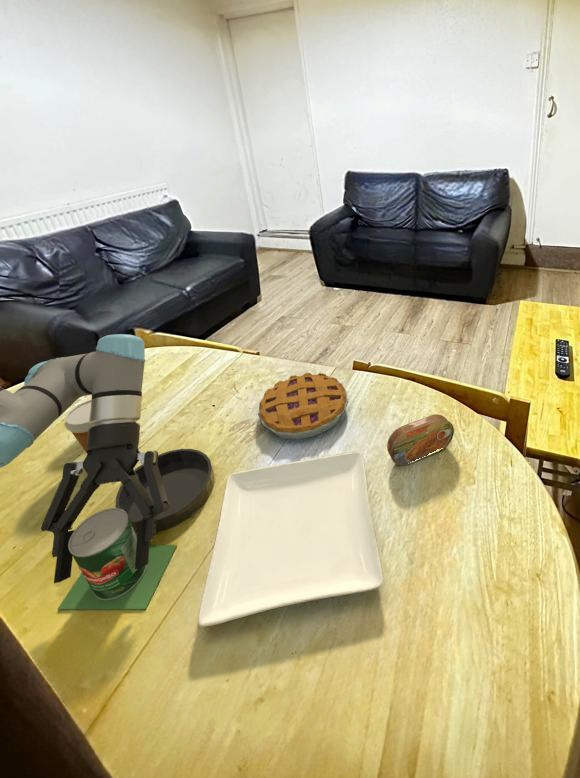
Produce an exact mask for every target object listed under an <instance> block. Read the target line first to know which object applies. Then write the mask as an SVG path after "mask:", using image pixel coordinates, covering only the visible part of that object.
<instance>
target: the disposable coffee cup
mask: <svg viewBox="0 0 580 778" xmlns="http://www.w3.org/2000/svg"><path fill="white" fill-rule="evenodd" d="M91 401H92V398H91V399H88V400H85V401H83V402H81V403H78V404H77V405H76V406H74V407H73V408H72V409H70V410H69V411H68V412H67V413H66V416H65V421H64V427H65V429H66V430H67V431H69V432H70V433H71V434H72V435H73V437H74V438H75V439H76V440H77V442H78V443H79V445H80V446H81V448H82V449H83V451H84V452H85V453H86V454H87V449H86V446H87V437H88V430H89V429H90V428H91V427H93V425H91V424H90V423H89V418H90V409H91Z"/></svg>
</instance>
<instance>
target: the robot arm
mask: <svg viewBox="0 0 580 778" xmlns="http://www.w3.org/2000/svg"><path fill="white" fill-rule="evenodd" d="M145 344H146V343H145V341H144V340H143V338H141V337H139V336H137V335H133V334H126V333H125V334H123V333H118V334H108V335H105V336H102V337H100V338H99V339H98V341H97V345H96V347H95V350H96V351H92V352H89V353H83V354H77V355H70V356H62V357H56V358H51V359H48V360H46V361H42V362H39V363H37V364H34V366H32V367H31V368H30V369H29V370H28V373H27V375H26V377H25V378H24V383H23V386H21V387H20V388H18V389H17V390H16V391H14V392H12V391H9V390H7V389H5V388H3V387H2V386H0V469H2V468H4V467H6V466H8V465H10V463H11V462H13V461H14V460H15V459H16V458H18V457H19V456H20V455H21V454H22V453H23V452H24V451H26V450H27V449H28V448H30V447H31V446H32V445H33V444H34V442H35V441H36V440H37V439H38V438H39V437H40V436H41V435H42V434H43V433H44V432H45V431H46V430H47V429H48V428H49V427H50V426H51V425H52V424H53V423H54V422H55V421H56V420H58V419H59V418H60V417H61V416H62V415H63V414H64V413H65V412H66V411H67V410H69V408H71V407H72V406H73V404H75V403H76V402H77V401H78V399H80V398H82V397H87V396H91V399H92V401H91V409H90V418H89V423H90V424H91V425H93V427H91V428H90V429H89V430H88V437H87V446H86V449H87V453H86V456H85V458H84V459H83V461H72V462H69V461H68V462H65V464H64V465H63V467H62V477H61V480H60V482H59V485H58V487H57V489H56V492H55V494H54V496H53V498H52V501H51V502H50V505H49V507H48V509H47V512H46V513H45V516H44V518H43V521H42V522H41V526H40V530H41V531H42V532H51V533H52V534H53V540H52V550H51V557H52V558H56V561H55V567H54V568H55V569H54V577H53V584H57V583H62V582H63V581H65V580H67V579H69V578H71V576H72V567H73V560H74V557H73V555H72V554H71V553H70V551H69V547H68V544H69V540H70V537H71V535H72V534H73V532H74V531H75V529H73V527H72V526H73V525H74V524H75V522H76V520H77V518H78V517H79V516H80V514H81V513H82V511H83V510H84V508H85V506H86V505H87V504H88V502H89V500H91V498H92V496H93V494H94V493H95V491H96V490H97V489H99V487H100V486H101V485H106V484H110V483H112V484H113V483H119V482H120V484H121V485H122V484H123V485H124V486H125V487H126V489H127V490H128V492H129V494H130V495H131V497H132V499H133V500H134V502H135V504H136V505H137V507H138V509H139V510H140V512H141V514H142V515H143V517H144V518H142V519H143V520H140V521H138V529H137V532H136V536H137V545H136V561H135V569H139V568H142V567H143V566H145V565H147V564H148V560H149V545H150V542H151V541H153V540H155V538H156V535H157V532H156V518H157V516H158V515H159V514H160V513H162V512H164V511H166V510H168V509H169V502H168V498H167V495H166V492H165V488H164V485H163V482H162V478H161V475H160V471H159V468H158V465H157V464H158V455H159V452H158V451H157V450H148V451H146V452H140V450H139V445H140V435H141V434H140V433H141V425H140V423H139V422H138V421H139V420H140V419H141V416H142V401H143V392H142V391H143V383H144V381H143V380H144V371H145V364H146V357H145V356H146V351H145V348H146V347H145ZM139 462H140V466H141V465H143V466H144V471H145V475H146V478H147V482H148V485H149V489H150V492H151V496H152V499H153V502H152V500H151V499H150V497H149V495H148V494H147V492H146V491H145V489H144V487H143V486H142V484H141V482H140V481H139V477H138V475H137V473H136V472H135V467H136V466H137V464H138V463H139ZM83 471H85V473H86V474H87V475H86V477H85V478H84V479H83V481H82V482H81V484H80V486H79V487H80V488H79V489H78V491H77V492H76V494H75V495H74V497H73V498H72V495H73V493H74V490H75V488H76V486H77V484H78V481H79V478H80V475H82V473H83ZM71 498H72V500H71ZM70 500H71V501H70ZM153 503H154V504H153Z"/></svg>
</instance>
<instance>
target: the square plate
mask: <svg viewBox="0 0 580 778" xmlns="http://www.w3.org/2000/svg"><path fill="white" fill-rule="evenodd" d="M367 483H368V482H367V476H366V467H365V459H364V455H363V452H362V451H360V450H356V451H355V450H354V451H349V452H343V453H336V454H331V455H330V454H329V455H325V456H319V457H314V458H307V459H301V460H296V461H291V462H285V463H279V464H274V465H269V466H268V465H267V466H261V467H255V468H251V469H245V470H240V471H236V472H232V473H230V474H229V475H228V476H227V479H226V484H225V489H224V492H223V493H224V494H223V499H222V505H221V510H220V515H219V519H218V520H219V521H218V526H217V529H216V530H217V531H216V535H215V540H214V545H213V550H212V552H211V553H212V554H211V558H210V562H209V568H208V571H207V575H206V580H205V584H204V589H203V592H202V597H201V602H200V606H199V610H198V617H197V623H198V626H199V627H201V628H203V627H211V626H216V625H220V624H224V623H226V622H230V621H234V620H237V619H240V618H244V617H248V616H252V615H255V614H258V613H263V612H266V611H269V610H273V609H277V608H281V607H286V606H290V605H291V606H292V605H296V604H301V603H305V602H310V601H317V600H323V599H327V598H328V599H329V598H332V597H341V596H345V595H351V594H357V593H358V594H359V593H365V592H368V591H369V592H370V591H373V590H376V589H379V588H381V587H383V584H384V576H383V569H382V568H383V567H382V562H381V557H380V553H379V552H380V551H379V546H378V543H377V538H376V532H375V528H374V522H373V517H372V512H371V505H370V498H369V491H368V484H367Z"/></svg>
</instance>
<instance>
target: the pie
mask: <svg viewBox="0 0 580 778" xmlns="http://www.w3.org/2000/svg"><path fill="white" fill-rule="evenodd" d="M348 403H349V399H348V393H347V390H346V388H345V387H344V385H343V383H341V382H340V381H339V380H338V379H337V378H336V377H334V376H332V377H331V376H328V375H327V374H325V373H322V372H319V373H318V374H312V373H311V372H305V373H304V374H303V375H299V376H297V375H296V374H295V375H291V376H290V377H289V378H288V379H286V380H284V381H283V380H280V381H278V382H276V383H274V386H273V387H272V388H267V390H266V391H265V392H264V395H263V397H262V398H261V400H260V401H259V406H258V413H257V415H258V417H259V420H260V421H261V424H262V426H263V427H264V428H266V429H268V430H269V431H271V432H272V433H273V434H275V435H276V436H278V437H279V438H280V439H285V440H286V439H287V440H300V439H301V440H302V439H305V438H313V437H315V436H317V435H320V434H322V433H324V432H326V431H329V430H330V429H331V428H332V427H333V426H335V425H336V424H337V423H338V422H340V419H341V416H342V415H344V413H345V410H346V408H347V405H348Z"/></svg>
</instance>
